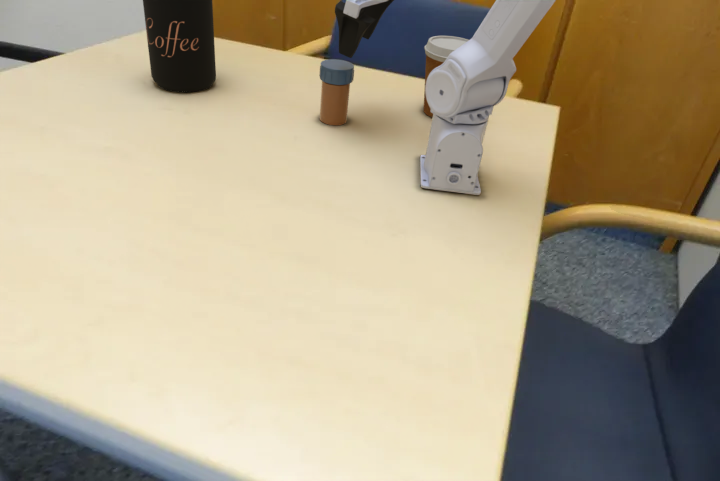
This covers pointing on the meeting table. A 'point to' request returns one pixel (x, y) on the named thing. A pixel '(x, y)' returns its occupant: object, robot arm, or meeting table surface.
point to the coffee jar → (181, 44)
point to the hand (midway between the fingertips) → (354, 45)
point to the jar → (334, 103)
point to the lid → (336, 72)
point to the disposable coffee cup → (439, 56)
